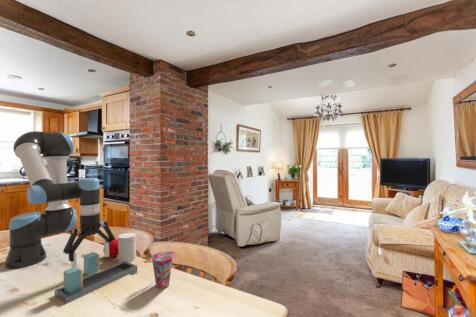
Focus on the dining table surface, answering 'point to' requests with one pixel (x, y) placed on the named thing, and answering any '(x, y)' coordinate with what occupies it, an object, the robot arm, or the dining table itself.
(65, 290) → the block
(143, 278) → the dining table surface
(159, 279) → the cup
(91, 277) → the rail
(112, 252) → the ornament
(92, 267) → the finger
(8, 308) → the dining table surface
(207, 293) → the dining table surface
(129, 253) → the cup
